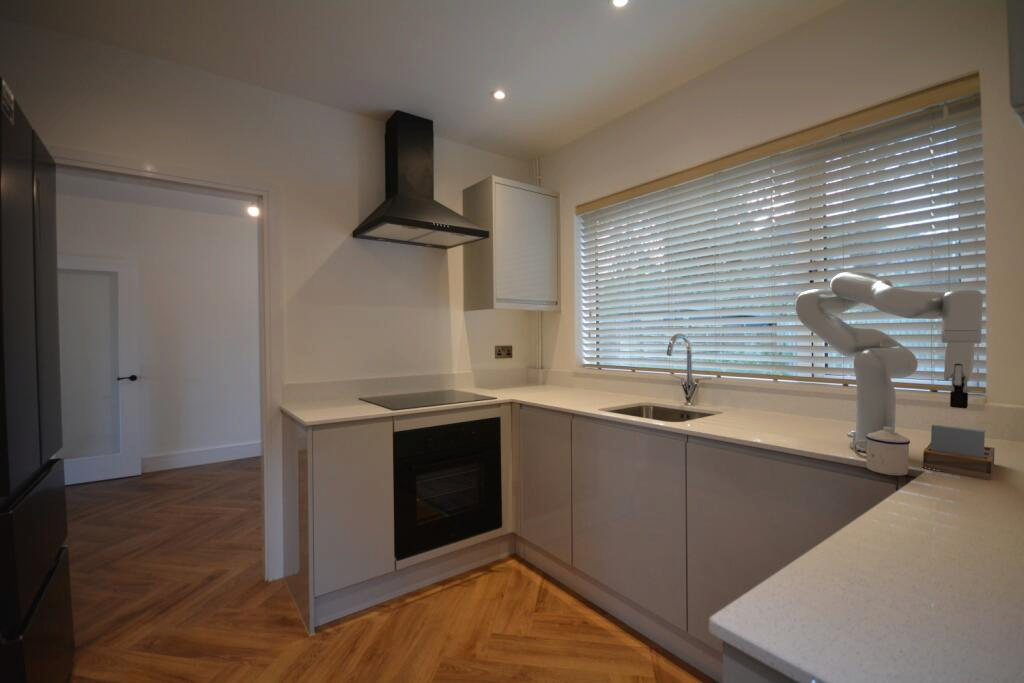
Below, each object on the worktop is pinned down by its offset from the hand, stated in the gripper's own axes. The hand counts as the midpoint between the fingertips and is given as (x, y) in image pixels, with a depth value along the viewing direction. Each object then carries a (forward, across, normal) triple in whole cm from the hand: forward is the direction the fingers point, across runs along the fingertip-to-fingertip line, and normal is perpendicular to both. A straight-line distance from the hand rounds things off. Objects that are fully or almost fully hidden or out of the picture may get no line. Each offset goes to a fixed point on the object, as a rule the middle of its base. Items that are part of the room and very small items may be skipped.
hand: (958, 407), depth 122 cm
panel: (+16, 0, 0) cm, 16 cm away
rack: (+17, -7, 0) cm, 18 cm away
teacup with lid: (+17, +13, -14) cm, 26 cm away
